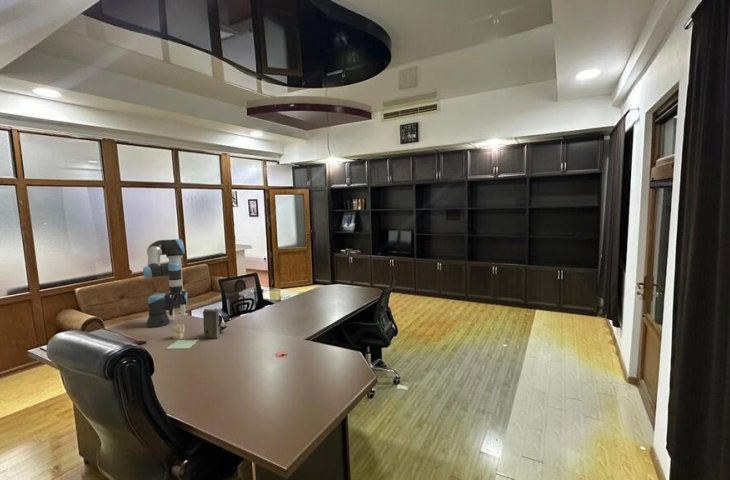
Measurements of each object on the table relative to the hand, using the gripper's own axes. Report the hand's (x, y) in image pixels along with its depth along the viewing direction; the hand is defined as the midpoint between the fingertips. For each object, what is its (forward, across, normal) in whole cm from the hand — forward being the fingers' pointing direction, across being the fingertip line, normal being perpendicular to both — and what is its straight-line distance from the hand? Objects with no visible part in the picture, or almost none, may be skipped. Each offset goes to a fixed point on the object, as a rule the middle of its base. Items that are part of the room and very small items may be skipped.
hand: (177, 316), depth 231 cm
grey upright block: (+14, -3, +24) cm, 28 cm away
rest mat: (+14, +14, +10) cm, 22 cm away
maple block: (+14, 0, 0) cm, 14 cm away
